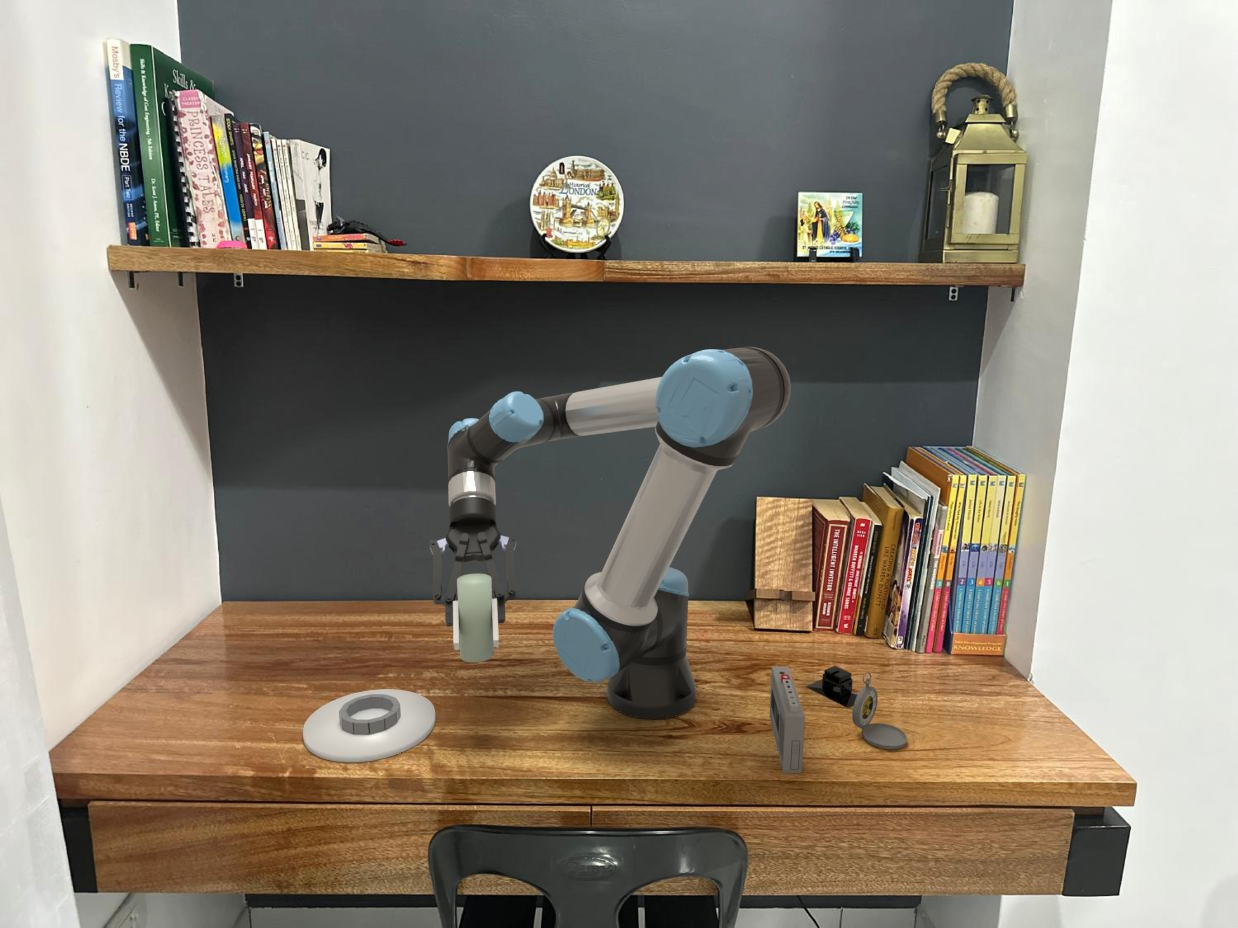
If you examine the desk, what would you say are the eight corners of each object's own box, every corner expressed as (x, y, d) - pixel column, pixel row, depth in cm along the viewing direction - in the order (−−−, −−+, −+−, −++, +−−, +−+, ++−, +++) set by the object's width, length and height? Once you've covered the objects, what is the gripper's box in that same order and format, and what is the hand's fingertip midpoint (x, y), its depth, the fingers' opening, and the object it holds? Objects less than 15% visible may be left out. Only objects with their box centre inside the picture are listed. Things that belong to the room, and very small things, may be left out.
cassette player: (769, 716, 131) (772, 660, 129) (785, 717, 131) (788, 660, 128) (782, 772, 115) (786, 709, 113) (801, 773, 115) (805, 710, 113)
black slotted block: (795, 687, 142) (796, 663, 141) (822, 675, 146) (824, 652, 145) (852, 717, 132) (854, 691, 131) (879, 704, 136) (881, 679, 135)
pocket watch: (909, 754, 120) (915, 693, 118) (851, 747, 122) (856, 687, 120) (902, 726, 128) (907, 668, 126) (847, 720, 130) (852, 663, 128)
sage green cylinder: (496, 647, 122) (493, 573, 120) (491, 662, 117) (488, 585, 115) (463, 647, 122) (460, 573, 120) (457, 662, 117) (453, 585, 115)
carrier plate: (447, 695, 136) (446, 678, 136) (418, 762, 117) (417, 743, 116) (330, 695, 136) (328, 677, 136) (282, 761, 117) (280, 742, 116)
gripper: (527, 515, 133) (537, 649, 120) (417, 520, 130) (414, 658, 117) (529, 492, 127) (539, 630, 114) (412, 496, 124) (410, 639, 111)
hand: (476, 644), depth 116 cm, fingers closed on sage green cylinder, 5 cm apart
